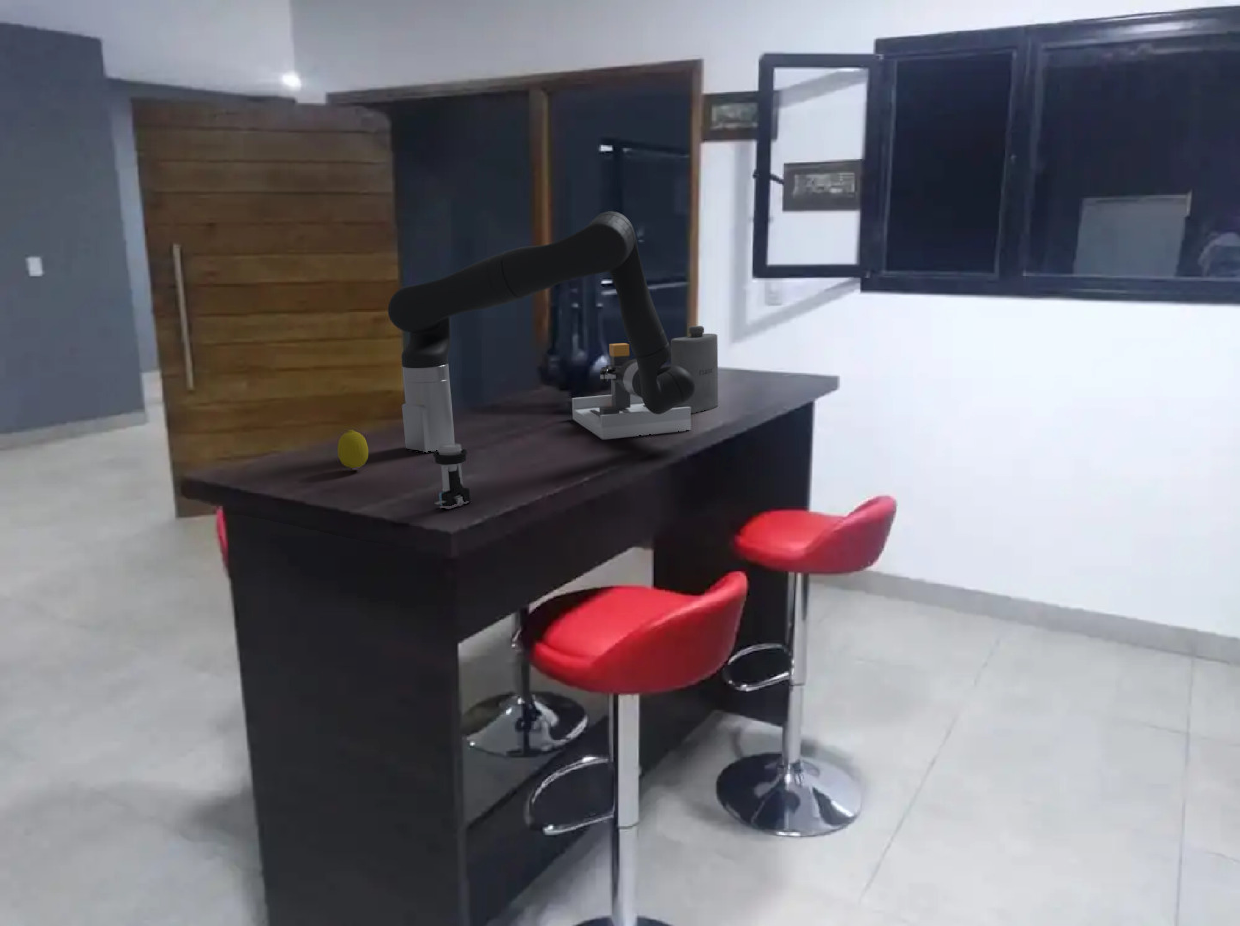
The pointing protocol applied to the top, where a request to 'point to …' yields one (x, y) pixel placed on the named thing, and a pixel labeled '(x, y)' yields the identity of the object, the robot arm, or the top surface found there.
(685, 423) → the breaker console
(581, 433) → the top surface
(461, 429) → the top surface
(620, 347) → the handle
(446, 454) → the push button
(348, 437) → the lemon
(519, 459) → the top surface
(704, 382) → the flask
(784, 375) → the top surface
